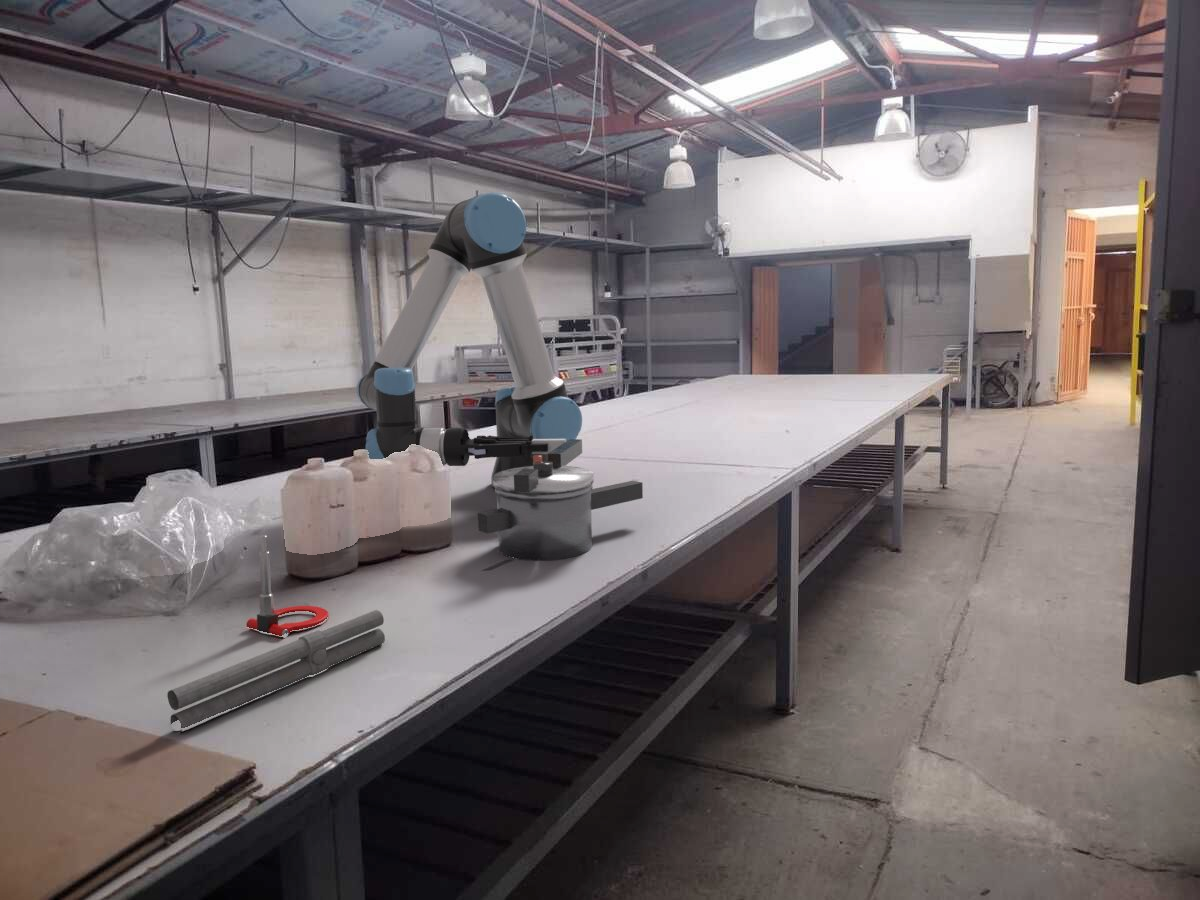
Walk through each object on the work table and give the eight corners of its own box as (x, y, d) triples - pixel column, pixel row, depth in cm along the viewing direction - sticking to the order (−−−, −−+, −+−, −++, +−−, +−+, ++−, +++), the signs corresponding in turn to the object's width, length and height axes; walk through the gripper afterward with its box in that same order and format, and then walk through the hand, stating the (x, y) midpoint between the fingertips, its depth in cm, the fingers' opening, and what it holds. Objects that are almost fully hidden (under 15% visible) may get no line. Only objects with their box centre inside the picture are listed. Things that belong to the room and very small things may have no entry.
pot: (507, 521, 156) (505, 465, 154) (643, 521, 154) (642, 464, 152) (477, 563, 130) (474, 497, 128) (640, 564, 128) (639, 496, 126)
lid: (574, 500, 124) (574, 475, 123) (470, 496, 127) (469, 472, 127) (618, 458, 157) (618, 438, 157) (535, 457, 161) (534, 437, 160)
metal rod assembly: (184, 740, 78) (178, 691, 77) (169, 732, 80) (163, 684, 79) (390, 647, 99) (388, 608, 98) (375, 642, 101) (373, 604, 100)
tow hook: (298, 609, 113) (241, 630, 105) (295, 519, 111) (236, 533, 103) (342, 620, 109) (285, 642, 101) (338, 526, 107) (281, 541, 99)
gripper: (456, 459, 166) (570, 459, 164) (438, 472, 153) (561, 472, 151) (454, 423, 165) (569, 422, 163) (436, 433, 152) (560, 432, 150)
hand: (565, 446), depth 157 cm, fingers closed
